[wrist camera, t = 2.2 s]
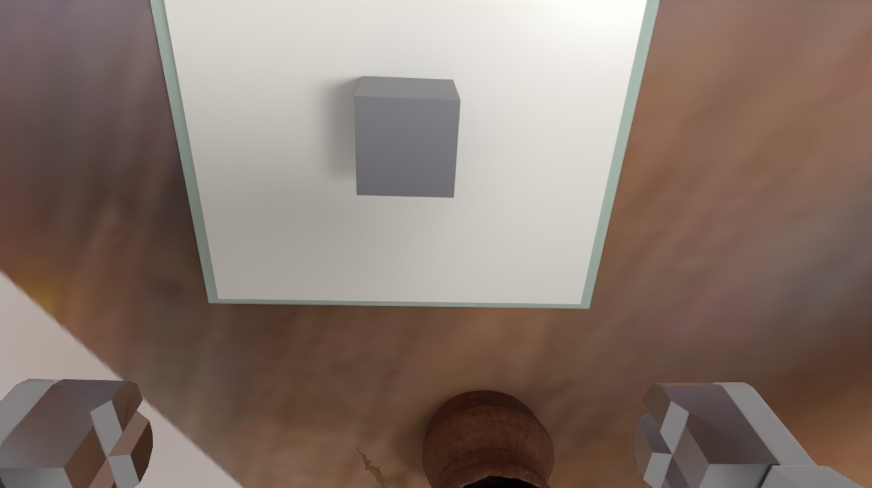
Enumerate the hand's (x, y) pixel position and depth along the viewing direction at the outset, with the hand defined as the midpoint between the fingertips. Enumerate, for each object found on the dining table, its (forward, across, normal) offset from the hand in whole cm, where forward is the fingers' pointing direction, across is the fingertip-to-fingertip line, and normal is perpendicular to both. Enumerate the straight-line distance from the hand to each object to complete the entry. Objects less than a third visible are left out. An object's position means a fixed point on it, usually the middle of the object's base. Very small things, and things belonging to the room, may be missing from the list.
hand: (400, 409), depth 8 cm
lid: (+18, 0, 0) cm, 18 cm away
